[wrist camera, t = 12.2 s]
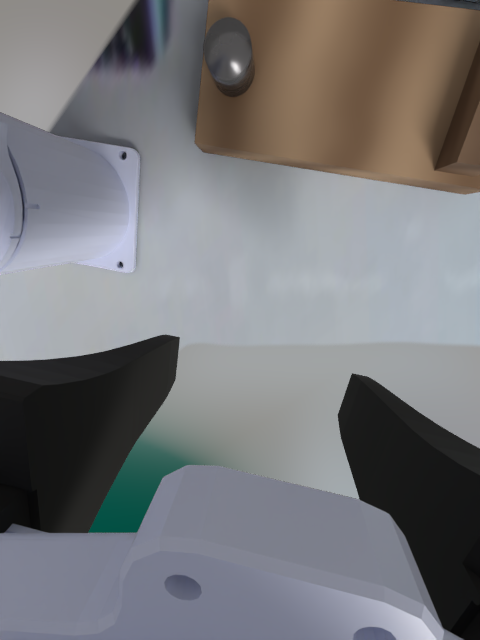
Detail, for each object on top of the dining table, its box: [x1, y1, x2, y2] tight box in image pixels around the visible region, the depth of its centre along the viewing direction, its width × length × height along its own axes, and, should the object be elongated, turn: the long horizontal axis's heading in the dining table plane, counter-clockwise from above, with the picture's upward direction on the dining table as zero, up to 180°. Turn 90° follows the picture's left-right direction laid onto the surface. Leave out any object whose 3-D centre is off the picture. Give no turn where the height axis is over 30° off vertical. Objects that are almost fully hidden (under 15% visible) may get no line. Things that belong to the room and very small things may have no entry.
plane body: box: [195, 0, 480, 194], centre depth 14 cm, size 16×7×4 cm, turn 80°
